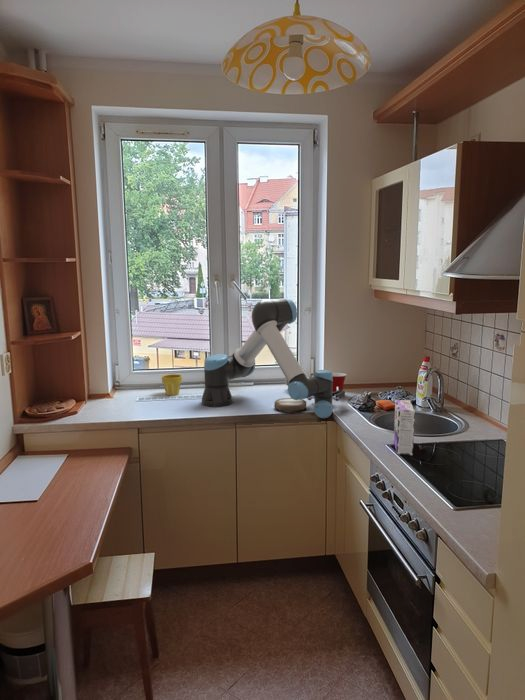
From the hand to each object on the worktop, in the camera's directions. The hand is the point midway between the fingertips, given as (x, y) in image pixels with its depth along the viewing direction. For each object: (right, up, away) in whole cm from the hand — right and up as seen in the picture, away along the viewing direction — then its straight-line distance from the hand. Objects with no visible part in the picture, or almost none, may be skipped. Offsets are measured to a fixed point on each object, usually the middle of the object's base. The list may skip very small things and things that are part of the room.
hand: (323, 389), depth 239 cm
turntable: (-16, -8, -8) cm, 20 cm away
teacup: (-12, -3, +24) cm, 27 cm away
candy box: (+22, -17, -59) cm, 65 cm away
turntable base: (-16, -8, -8) cm, 20 cm away
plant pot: (-77, -4, +21) cm, 80 cm away
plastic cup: (+8, -5, +13) cm, 16 cm away
